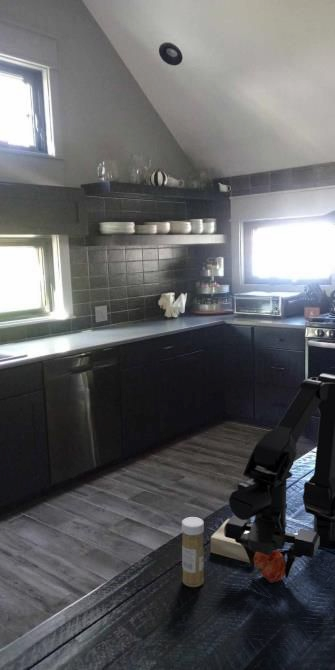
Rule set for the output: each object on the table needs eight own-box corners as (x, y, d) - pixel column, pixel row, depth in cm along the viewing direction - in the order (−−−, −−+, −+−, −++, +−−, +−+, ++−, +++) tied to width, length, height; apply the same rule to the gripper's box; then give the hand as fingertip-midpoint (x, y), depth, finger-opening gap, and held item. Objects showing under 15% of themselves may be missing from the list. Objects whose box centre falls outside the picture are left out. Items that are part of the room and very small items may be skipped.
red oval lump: (257, 599, 115) (298, 575, 113) (236, 569, 116) (276, 544, 114) (260, 582, 122) (299, 559, 120) (240, 553, 123) (278, 530, 121)
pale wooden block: (227, 533, 138) (228, 518, 137) (267, 544, 133) (267, 528, 132) (210, 553, 129) (210, 537, 128) (252, 565, 124) (252, 548, 124)
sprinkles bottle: (208, 583, 117) (208, 522, 115) (190, 590, 115) (190, 529, 113) (195, 572, 121) (195, 513, 119) (177, 579, 118) (177, 519, 116)
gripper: (214, 509, 113) (213, 581, 115) (307, 530, 104) (305, 607, 107) (234, 487, 123) (233, 554, 125) (321, 505, 114) (318, 576, 117)
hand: (270, 572), depth 118 cm, fingers closed on red oval lump, 7 cm apart
